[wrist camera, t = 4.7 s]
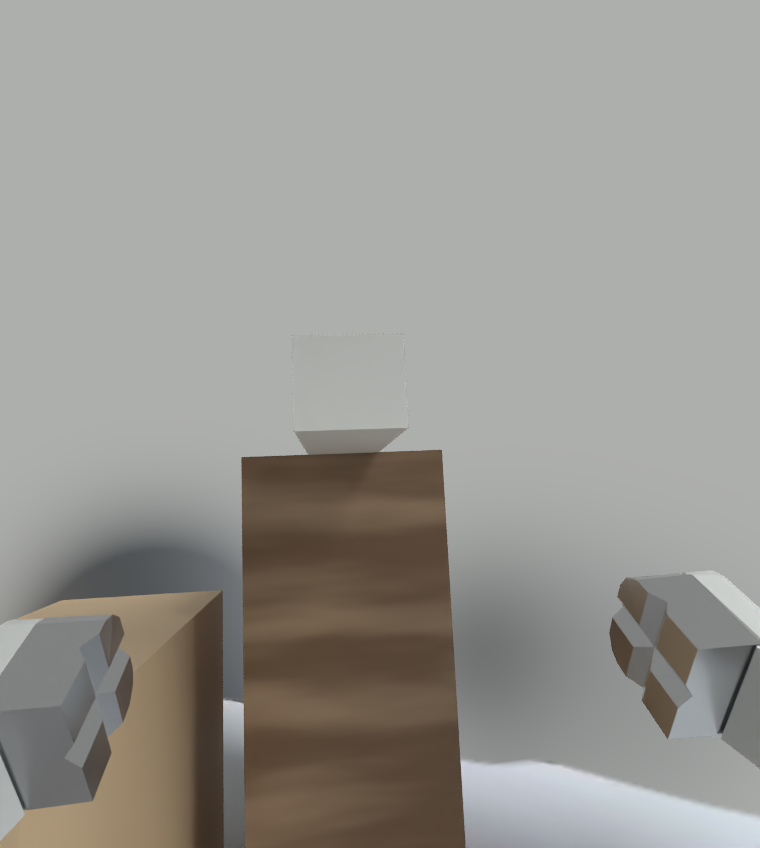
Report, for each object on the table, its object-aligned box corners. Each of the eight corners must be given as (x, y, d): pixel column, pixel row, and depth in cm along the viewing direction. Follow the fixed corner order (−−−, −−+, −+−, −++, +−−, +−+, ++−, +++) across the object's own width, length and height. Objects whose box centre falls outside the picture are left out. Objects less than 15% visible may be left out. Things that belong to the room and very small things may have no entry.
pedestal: (476, 1032, 23) (441, 449, 26) (247, 1068, 22) (241, 457, 25) (416, 809, 38) (399, 465, 42) (282, 824, 37) (276, 470, 41)
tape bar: (408, 427, 16) (403, 333, 16) (293, 431, 15) (291, 335, 16) (358, 468, 43) (357, 433, 44) (317, 469, 43) (316, 434, 43)
